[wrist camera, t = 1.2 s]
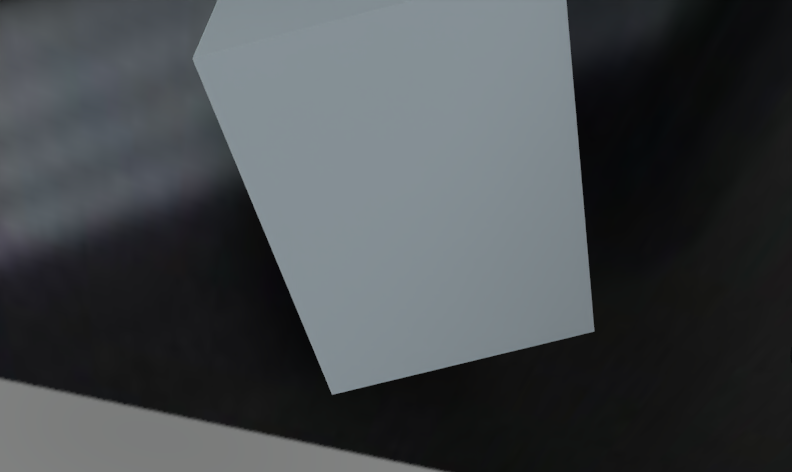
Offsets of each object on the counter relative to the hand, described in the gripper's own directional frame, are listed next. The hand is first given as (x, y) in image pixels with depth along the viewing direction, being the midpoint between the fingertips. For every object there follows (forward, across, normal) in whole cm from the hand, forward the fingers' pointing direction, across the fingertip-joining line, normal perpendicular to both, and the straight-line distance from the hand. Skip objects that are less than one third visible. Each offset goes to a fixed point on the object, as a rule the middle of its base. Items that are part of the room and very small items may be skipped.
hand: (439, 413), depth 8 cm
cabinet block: (+13, 0, 0) cm, 13 cm away
